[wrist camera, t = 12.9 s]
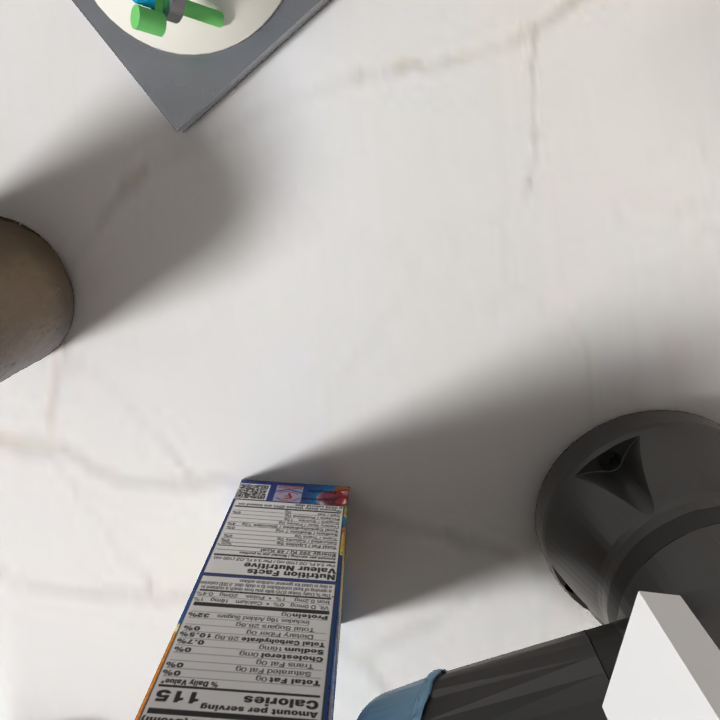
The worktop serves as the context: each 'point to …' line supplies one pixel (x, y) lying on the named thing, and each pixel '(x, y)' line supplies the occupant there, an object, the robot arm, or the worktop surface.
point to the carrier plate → (196, 60)
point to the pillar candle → (30, 298)
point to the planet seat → (198, 25)
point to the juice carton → (261, 613)
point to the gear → (170, 14)
